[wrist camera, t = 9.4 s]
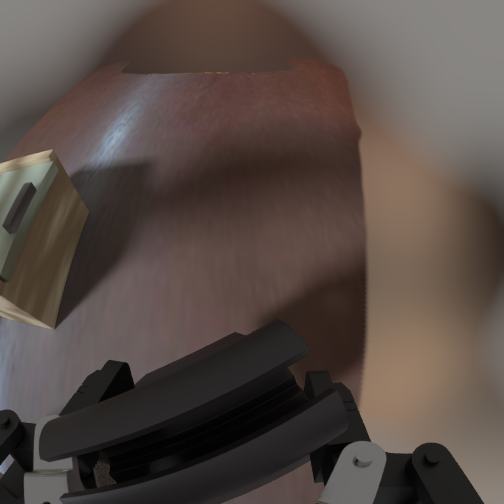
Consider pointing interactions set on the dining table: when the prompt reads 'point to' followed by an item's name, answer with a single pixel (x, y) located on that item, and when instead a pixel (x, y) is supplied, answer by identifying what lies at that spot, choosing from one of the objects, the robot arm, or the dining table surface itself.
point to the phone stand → (202, 425)
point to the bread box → (37, 236)
